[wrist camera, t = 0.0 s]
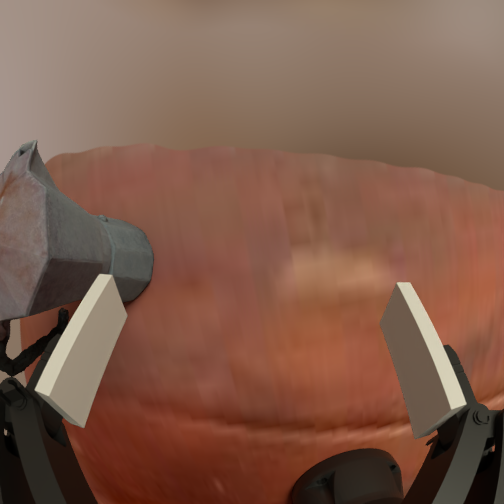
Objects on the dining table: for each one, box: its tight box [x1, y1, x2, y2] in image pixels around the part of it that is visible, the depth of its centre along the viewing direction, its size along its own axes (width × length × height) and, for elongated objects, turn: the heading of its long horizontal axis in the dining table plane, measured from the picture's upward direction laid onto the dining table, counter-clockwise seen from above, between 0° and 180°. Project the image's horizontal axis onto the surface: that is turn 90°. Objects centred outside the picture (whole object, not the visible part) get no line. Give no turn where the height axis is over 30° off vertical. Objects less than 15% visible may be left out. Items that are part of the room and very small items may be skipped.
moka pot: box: [0, 140, 154, 377], centre depth 18 cm, size 10×15×20 cm, turn 174°
